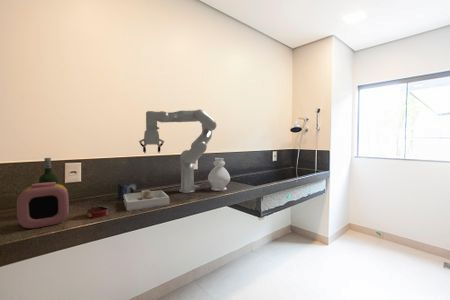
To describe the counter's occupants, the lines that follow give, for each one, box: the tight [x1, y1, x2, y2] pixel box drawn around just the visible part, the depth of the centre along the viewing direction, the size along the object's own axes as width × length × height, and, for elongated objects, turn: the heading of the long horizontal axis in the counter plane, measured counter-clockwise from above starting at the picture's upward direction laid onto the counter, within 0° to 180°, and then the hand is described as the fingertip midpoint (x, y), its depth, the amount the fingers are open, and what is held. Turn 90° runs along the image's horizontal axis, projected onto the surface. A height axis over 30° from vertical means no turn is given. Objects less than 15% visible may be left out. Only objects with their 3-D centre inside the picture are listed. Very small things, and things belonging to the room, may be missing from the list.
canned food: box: [86, 200, 109, 219], centre depth 119 cm, size 11×10×10 cm
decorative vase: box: [207, 157, 231, 192], centre depth 180 cm, size 18×18×25 cm
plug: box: [141, 189, 151, 200], centre depth 140 cm, size 4×4×7 cm
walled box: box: [123, 189, 170, 212], centre depth 140 cm, size 24×20×5 cm
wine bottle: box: [38, 157, 59, 184], centre depth 120 cm, size 8×8×30 cm
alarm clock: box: [16, 182, 70, 229], centre depth 106 cm, size 18×11×19 cm, turn 126°
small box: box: [117, 181, 137, 201], centre depth 152 cm, size 11×6×10 cm, turn 129°
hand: (151, 152), depth 160 cm, fingers open, 9 cm apart
